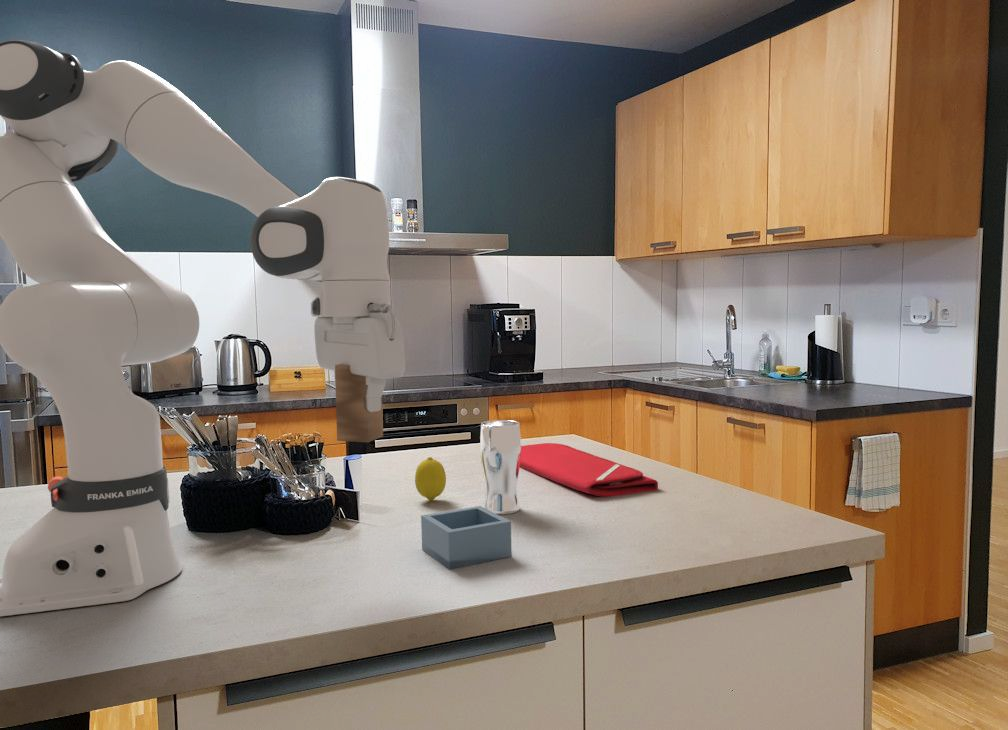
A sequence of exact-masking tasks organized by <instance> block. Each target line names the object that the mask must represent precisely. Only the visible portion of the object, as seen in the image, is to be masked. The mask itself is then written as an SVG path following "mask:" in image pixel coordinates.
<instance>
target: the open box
mask: <svg viewBox="0 0 1008 730" xmlns="http://www.w3.org/2000/svg"><path fill="white" fill-rule="evenodd" d="M420 525H421V550H422V551H423V552H425V553H426V552H427V553H426V554H428V555H429V556H430V557H432V558H433V559H435V560H436V561H437V562H439V563H441V564H442V565H443V566H444V567H446V568H447V569H448V568H449V569H448V570H453V569H457V568H461V567H467V565H468V566H471V565H477V564H482V563H487V562H492V561H496V560H501V559H507V558H510V557H512V521H511V520H509V519H507V518H505V517H503V516H501V515H500V514H495V513H493V512H491V511H489V510H487V509H485V508H484V507H483V506H482V505H478V506H473V507H466V508H459V509H453V510H447V511H439V512H434V513H429V514H424V515H423V514H422V515H420ZM491 560H492V561H491ZM486 561H487V562H486Z"/></svg>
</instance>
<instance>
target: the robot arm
mask: <svg viewBox="0 0 1008 730" xmlns="http://www.w3.org/2000/svg"><path fill="white" fill-rule="evenodd" d="M0 117H1V118H2V119H3V121H4V122H5V123H6V124H7V125H8V126H9V127H10V128H11V129H12V130H11V129H10V128H7V129H6V132H5V133H4V134H3V135H0V237H1V240H2V242H3V243H4V244H5V246H6V248H7V250H8V251H9V254H10V255H11V256H12V258H13V259H14V261H15V264H16V265H17V267H18V268H19V269H20V271H22V273H24V274H25V276H27V277H28V278H29V279H31V280H33V282H36V284H32V285H28V286H22V287H18V288H16V289H13V290H12V291H11V292H10V293H8V294H7V295H6V297H5V298H4V299H3V301H2V303H1V304H0V346H1V348H2V350H3V351H4V352H5V354H6V356H8V357H9V359H10V360H11V361H13V362H14V363H15V364H16V365H18V366H19V367H21V368H23V369H25V370H26V371H27V372H29V373H30V374H32V375H33V376H34V377H35V378H36V379H38V381H39V382H40V383H41V384H42V385H43V387H45V389H46V390H47V392H48V393H49V394H50V396H51V398H52V400H53V402H54V404H55V406H56V408H57V410H58V413H59V415H60V421H61V423H62V429H63V436H64V445H65V453H66V464H67V474H68V475H67V476H65V477H62V476H60V475H59V476H58V475H57V476H53V477H52V478H50V480H49V481H48V485H47V489H48V491H49V493H50V503H51V507H52V509H50V510H49V511H48V512H47V513H46V514H45V515H43V516H42V517H41V518H39V520H37V521H36V522H35V523H33V524H32V525H31V526H30V527H28V529H27V530H25V531H24V532H23V533H21V534H20V535H19V536H18V537H17V538H16V539H15V540H14V541H13V542H12V543H11V545H10V546H9V548H8V550H7V552H6V554H5V557H4V563H3V565H2V566H3V567H2V572H1V577H0V617H6V616H14V615H22V614H32V613H39V612H46V611H47V612H48V611H55V610H56V611H57V610H63V609H71V608H79V607H81V608H82V607H87V606H97V605H104V604H105V605H106V604H111V603H113V604H114V603H119V602H127V601H130V600H134V599H136V598H137V597H139V596H140V595H142V594H143V593H145V592H146V591H148V590H151V589H153V588H155V587H157V586H160V585H163V584H165V583H167V582H169V581H170V580H172V579H174V578H176V577H177V576H178V575H179V574H180V573H181V571H182V570H183V565H182V563H181V561H180V558H179V555H178V553H177V549H176V546H175V543H174V538H173V534H172V529H171V525H170V520H169V515H168V509H169V503H170V487H169V484H170V483H169V475H168V472H167V469H166V467H165V466H164V463H163V448H162V447H163V445H162V430H161V429H162V428H161V416H160V414H159V411H158V410H157V408H156V407H155V405H153V403H152V402H150V401H148V400H146V399H145V398H143V397H140V396H138V395H136V394H134V393H133V391H132V389H130V387H129V385H128V384H127V381H126V379H125V375H124V372H123V366H131V365H133V366H134V365H141V364H152V363H158V362H162V361H164V360H167V359H171V358H173V357H176V356H179V355H182V354H183V353H186V352H188V351H189V350H190V349H191V348H192V346H194V344H195V342H196V340H197V338H198V335H199V332H200V331H199V330H200V315H199V311H198V309H197V306H196V304H195V302H194V301H193V299H192V298H191V296H189V294H187V293H186V292H185V291H183V290H182V289H179V288H177V287H175V286H173V285H171V284H169V283H166V282H165V281H163V280H161V279H159V277H157V276H155V275H154V274H152V272H149V270H147V269H145V268H144V267H143V266H141V264H139V263H138V262H137V261H136V260H134V258H132V257H131V256H130V255H129V254H127V253H126V252H125V250H123V249H122V248H121V247H120V246H119V245H118V244H116V243H115V241H114V240H113V239H112V238H111V237H110V235H108V234H107V232H106V231H105V230H104V229H103V227H102V224H100V223H99V221H98V219H97V218H96V216H95V215H94V213H93V212H92V211H91V209H90V207H89V206H88V204H87V203H86V201H85V199H84V198H83V196H82V195H81V194H80V191H79V190H78V189H77V187H76V185H75V184H74V183H76V182H80V181H82V180H83V179H85V178H86V177H90V176H93V175H94V174H96V173H98V172H100V171H102V170H103V169H104V168H105V167H106V166H108V165H109V164H110V163H111V162H112V161H113V159H114V157H116V154H117V151H118V148H119V145H120V146H121V147H122V148H123V149H125V150H126V151H127V152H128V153H129V154H130V155H131V156H132V157H134V159H135V160H137V161H138V162H139V163H140V164H142V165H143V166H144V167H145V168H146V169H148V170H149V171H151V172H153V173H154V174H156V175H158V176H159V177H161V178H163V179H165V180H166V181H169V182H170V183H173V184H175V185H177V186H181V187H184V188H188V189H191V190H195V191H198V192H203V193H206V194H210V195H213V196H217V197H220V198H223V199H226V200H228V201H231V202H233V203H235V204H238V205H239V206H241V207H243V208H244V209H246V210H248V211H249V212H250V213H252V214H253V215H254V216H256V217H257V218H256V220H255V221H254V223H253V225H252V227H251V228H252V229H251V233H250V249H251V253H252V256H253V259H254V260H255V263H256V264H257V265H258V266H259V268H261V269H262V271H264V272H265V273H267V274H268V275H271V276H275V277H277V278H281V279H287V280H300V281H315V282H320V283H321V290H320V292H319V293H318V295H317V296H316V297H315V298H314V299H313V300H312V301H311V303H310V314H311V316H312V317H315V319H314V320H315V321H314V331H313V332H314V344H315V356H316V360H317V363H318V365H319V368H320V369H323V370H328V371H333V372H334V374H335V365H338V364H344V365H350V370H351V373H352V374H355V375H360V376H366V385H368V389H367V395H366V397H364V409H365V410H366V411H370V412H375V411H380V410H381V397H382V398H383V393H384V390H385V387H386V384H387V383H386V381H387V380H390V379H399V378H402V377H403V376H404V373H405V370H406V357H405V356H406V355H405V354H406V353H405V343H404V335H403V330H402V325H401V323H400V321H399V320H398V318H397V316H396V315H397V314H396V313H395V312H394V311H393V309H392V307H391V306H392V305H391V304H392V302H391V299H392V296H391V275H390V273H389V269H388V263H387V261H388V256H389V250H390V230H389V218H388V217H389V216H388V211H387V203H386V199H385V196H384V193H383V191H382V190H381V189H380V188H379V187H377V186H376V185H375V184H372V183H370V182H367V181H364V180H357V179H355V178H349V177H344V176H331V177H328V178H325V179H324V180H322V181H321V183H320V184H319V185H318V186H317V187H316V188H315V189H314V190H312V191H311V192H309V193H307V194H306V195H303V196H301V195H300V194H298V193H297V192H296V191H295V190H293V189H292V188H291V187H289V186H288V185H287V184H285V183H284V182H283V181H282V180H280V179H279V178H278V177H277V176H275V175H274V174H273V173H271V172H270V171H269V170H267V169H266V168H265V167H263V165H261V164H260V163H259V162H258V161H256V160H255V159H254V158H253V157H252V156H251V155H250V154H249V153H248V152H247V151H246V150H244V149H243V147H241V146H240V145H239V144H238V143H237V142H236V141H235V140H233V139H232V138H231V137H230V136H229V135H228V134H227V133H226V132H225V131H224V130H222V129H221V127H219V126H218V124H217V123H216V122H215V121H213V120H212V119H211V117H209V116H208V115H207V114H206V113H205V112H204V111H203V110H202V109H200V107H198V106H197V105H196V104H195V103H194V102H193V101H192V100H191V99H189V97H187V96H186V95H185V94H184V93H183V92H181V91H180V90H179V89H178V88H176V87H175V86H173V85H172V84H170V83H169V82H168V81H166V80H165V79H163V78H162V77H160V76H158V75H157V74H156V73H154V72H152V71H150V70H149V69H148V68H146V67H143V66H141V65H139V64H137V63H135V62H132V61H129V60H128V61H127V60H114V61H110V62H107V63H105V64H103V65H101V66H100V67H99V68H98V69H95V70H92V71H87V70H85V69H83V66H82V64H81V61H79V59H78V57H76V56H75V55H72V54H71V53H65V52H62V51H56V50H53V49H51V48H49V47H48V46H45V45H44V44H40V43H38V42H35V41H31V40H28V39H27V40H26V39H9V40H5V41H1V42H0Z"/></svg>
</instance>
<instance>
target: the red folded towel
mask: <svg viewBox="0 0 1008 730" xmlns="http://www.w3.org/2000/svg"><path fill="white" fill-rule="evenodd" d="M520 468H522V469H524V470H527V471H529V472H531V473H533V474H536V475H538V476H541V477H543V478H546V479H549V480H551V481H553V482H555V483H558V484H561V485H564V486H566V487H568V488H571V489H573V490H576V491H579V492H582V493H585V494H589V495H592V496H596V497H601V498H609V497H615V496H623V495H624V496H625V495H630V494H631V495H632V494H638V493H645V492H652V491H653V492H655V491H657V490H658V489H659V483H658V480H657V479H654V478H652V477H648V476H645V475H644V473H643V472H642V471H641V470H639V469H636V468H634V467H629V466H626V465H623V464H621V463H619V462H615V461H612V460H610V459H606V458H604V457H601V456H597V455H595V454H592V453H589V452H586V451H583V450H580V449H577V448H576V447H572V446H569V445H567V444H563V443H554V442H553V443H552V442H545V443H535V444H534V443H533V444H527V445H521V460H520Z"/></svg>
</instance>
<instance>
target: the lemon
mask: <svg viewBox="0 0 1008 730" xmlns="http://www.w3.org/2000/svg"><path fill="white" fill-rule="evenodd" d="M416 467H417V468H416V470H415V474H414V483H415V485H414V486H415V488H416V490H417V492H418V493H419V494H420V495H421V496H422V497H424V498H426V499H427V500H428V501H429V502H433V501H434V500H435V499H436V498H437V497H440V495H441V494H442V493H443V492H444V490H445V488H446V484H447V475H446V472H445V468H444V466H443V464H442V463H441V462H440V461H438V460H437V459H434V458H433V457H432V456H431V457H430V456H429V457H427V458H426V459H424V460H423V461H421V462H420V463H419V464H418V465H417V466H416Z"/></svg>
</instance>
